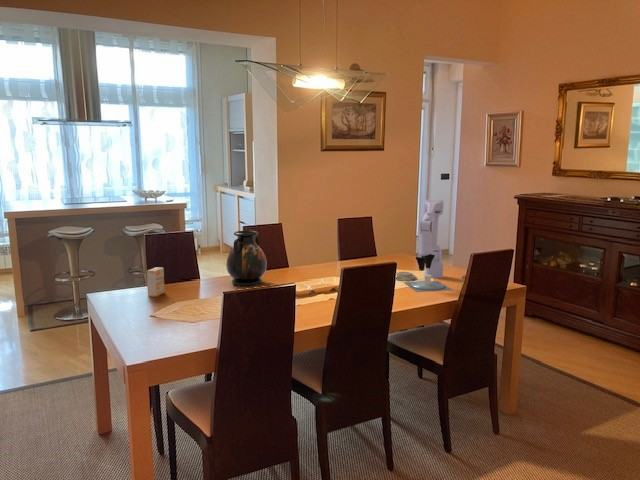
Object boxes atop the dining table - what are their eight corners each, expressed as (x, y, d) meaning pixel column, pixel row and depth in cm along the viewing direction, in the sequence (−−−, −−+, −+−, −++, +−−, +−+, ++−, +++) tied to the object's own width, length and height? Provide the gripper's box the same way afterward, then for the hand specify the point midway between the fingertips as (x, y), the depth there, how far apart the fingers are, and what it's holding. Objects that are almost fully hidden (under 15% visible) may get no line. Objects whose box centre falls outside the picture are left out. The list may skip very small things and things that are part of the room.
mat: (437, 281, 281) (437, 280, 281) (453, 290, 261) (453, 290, 261) (402, 283, 277) (402, 282, 277) (416, 292, 258) (416, 291, 258)
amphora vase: (249, 290, 261) (248, 236, 256) (218, 285, 272) (216, 232, 267) (275, 281, 279) (274, 231, 274) (244, 277, 290) (243, 228, 286)
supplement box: (156, 297, 248) (155, 270, 246) (147, 296, 249) (146, 270, 247) (165, 292, 256) (164, 267, 254) (156, 292, 257) (155, 266, 255)
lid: (413, 281, 280) (414, 270, 279) (445, 283, 274) (446, 273, 273) (408, 288, 264) (409, 277, 263) (442, 291, 258) (442, 280, 257)
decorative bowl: (422, 279, 288) (399, 275, 297) (422, 272, 287) (399, 268, 296) (409, 284, 276) (385, 280, 285) (409, 278, 275) (385, 273, 285)
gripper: (426, 245, 257) (425, 272, 259) (438, 242, 268) (437, 268, 270) (414, 244, 261) (413, 270, 263) (426, 241, 273) (425, 266, 274)
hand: (424, 269), depth 267 cm, fingers open, 7 cm apart
